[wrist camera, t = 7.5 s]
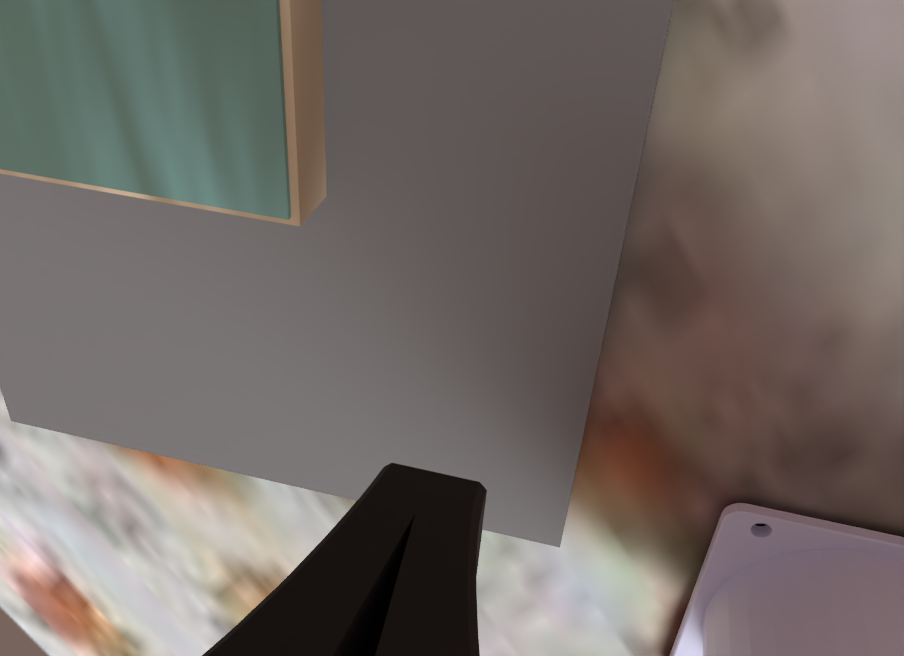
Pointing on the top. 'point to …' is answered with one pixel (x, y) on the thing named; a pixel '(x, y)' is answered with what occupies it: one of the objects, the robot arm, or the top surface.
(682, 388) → the top surface
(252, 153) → the brown framed teal panel
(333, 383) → the rubber mat
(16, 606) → the top surface
